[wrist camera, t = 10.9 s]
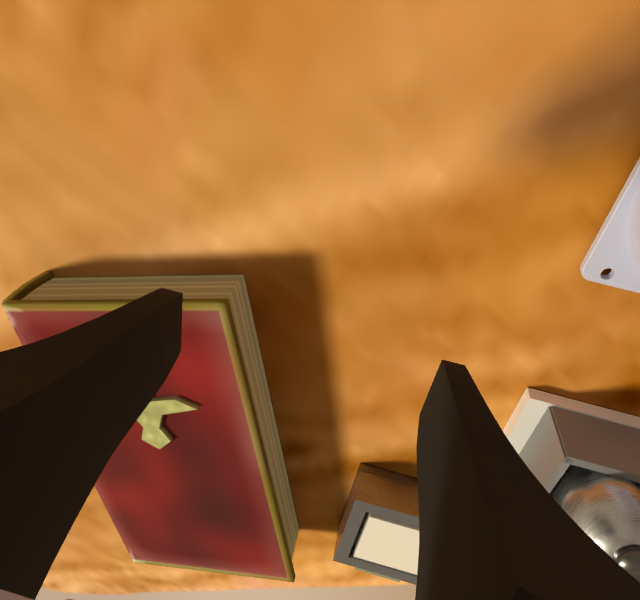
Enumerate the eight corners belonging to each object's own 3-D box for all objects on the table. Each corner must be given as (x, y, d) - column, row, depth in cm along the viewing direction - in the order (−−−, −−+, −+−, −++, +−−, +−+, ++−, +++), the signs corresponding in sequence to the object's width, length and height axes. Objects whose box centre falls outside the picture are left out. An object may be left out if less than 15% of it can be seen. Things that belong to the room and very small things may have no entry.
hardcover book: (154, 512, 37) (126, 565, 34) (47, 267, 27) (-11, 307, 23) (306, 527, 35) (293, 586, 31) (252, 262, 24) (222, 306, 21)
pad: (441, 521, 28) (441, 537, 27) (419, 560, 31) (420, 575, 30) (371, 502, 29) (369, 517, 28) (355, 541, 31) (353, 556, 30)
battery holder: (667, 424, 24) (706, 492, 21) (567, 544, 30) (585, 613, 26) (527, 387, 24) (543, 448, 21) (455, 513, 30) (459, 576, 27)
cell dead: (626, 442, 24) (708, 545, 18) (601, 499, 25) (669, 615, 19) (552, 426, 24) (607, 522, 18) (531, 484, 25) (575, 593, 19)
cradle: (464, 491, 29) (467, 531, 27) (424, 562, 33) (424, 601, 31) (360, 462, 29) (355, 499, 27) (334, 536, 34) (328, 573, 31)
